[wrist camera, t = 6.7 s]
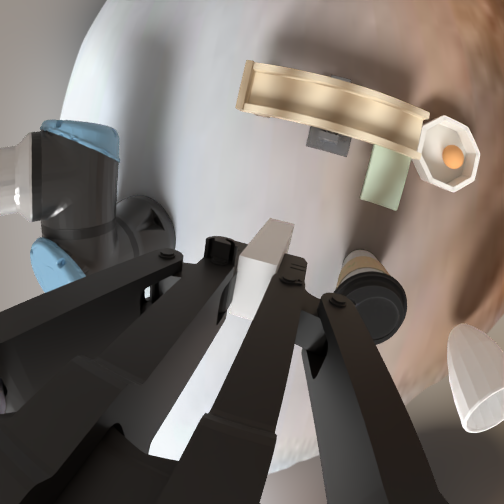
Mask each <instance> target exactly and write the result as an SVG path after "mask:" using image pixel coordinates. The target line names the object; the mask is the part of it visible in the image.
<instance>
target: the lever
mask: <svg viewBox="0 0 504 504" xmlns="http://www.w3.org/2000/svg"><path fill="white" fill-rule="evenodd" d="M235 108H236V109H238V110H240V111H242V112H248V113H253V114H259V115H264V116H269V117H274V118H279V119H284V120H288V121H293V122H297V123H301V124H305V125H309V126H313V127H317V128H321V129H325V130H328V131H332V132H336V133H339V134H342V135H346V136H349V137H352V138H356V139H359V140H362V141H365V142H368V143H371V144H373V148H372V153H371V157H370V161H369V165H368V169H367V172H366V176H365V180H364V184H363V187H362V191H361V194H360V199H362V200H365V201H368V202H371V203H374V204H377V205H380V206H383V207H386V208H389V209H392V210H395V211H397V208H398V205H399V202H400V198H401V195H402V192H403V188H404V185H405V181H406V177H407V173H408V170H409V166H410V162H411V158H412V159H418V160H420V159H421V154H422V153H419V152H417V148H418V144H419V139H420V134H421V129H422V124H423V120H426V119H429V115H430V113H429V112H427V111H425V110H423V109H420V108H418V107H416V106H413V105H411V104H409V103H406V102H404V101H401V100H399V99H396V98H394V97H391V96H388V95H386V94H383V93H380V92H377V91H374V90H371V89H368V88H365V87H362V86H359V85H356V84H353V83H349V82H346V81H342V80H339V79H335V78H331V77H327V76H324V75H319V74H315V73H311V72H306V71H302V70H297V69H292V68H287V67H281V66H275V65H269V64H263V63H256V62H254V61H251V60H246V64H245V68H244V73H243V77H242V81H241V85H240V90H239V94H238V98H237V103H236V107H235Z"/></svg>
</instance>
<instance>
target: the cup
mask: <svg viewBox="0 0 504 504" xmlns="http://www.w3.org/2000/svg"><path fill="white" fill-rule="evenodd" d="M447 360H448V370H449V382H450V385H451V389H452V393H453V397H454V402H455V405H456V408H457V410H458V414H459V416H460V419H461V423H462V426H463V428H464V429H465V430H466V431H467V432H472V433H478V432H482V431H485V430H487V429H490V428H492V427H494V426H496V425H497V424H499V423H500V422H501V421H503V420H504V352H503V351H502V350H501V348H500V347H499V345H498V344H497V343H496V342H495V341H494V340H492V339H491V338H490V337H489V336H488V335H487V334H485V333H484V332H483V331H481V330H479V329H477V328H475V327H473V326H471V325H468V324H465V323H462V324H459V325H457V326H455V327H454V328H453V329H452V330H451V332H450V334H449V337H448V344H447Z"/></svg>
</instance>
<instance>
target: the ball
mask: <svg viewBox="0 0 504 504" xmlns="http://www.w3.org/2000/svg"><path fill="white" fill-rule="evenodd" d="M442 158H443V161H444V163H445V164H446V166H448V167H449V168H451V169H458V168H459V167H461V166H462V164H463V162H464V155H463V152H462V151H461V149H460V148H459V147H457V146H455V145H448V146H446V147H445V148H444V150H443V153H442Z"/></svg>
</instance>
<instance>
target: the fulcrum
mask: <svg viewBox="0 0 504 504" xmlns="http://www.w3.org/2000/svg"><path fill="white" fill-rule="evenodd" d="M331 78H335V79H339V80H342V81H346V82H349V83H351V80H350V79H346V78H342V77H338V76H334V75H332V76H331ZM255 115H257V116H262V117H267V118H270V117H269V116H264V115H259V114H255ZM351 138H352V137H349V136H346V135H342V134H339V133H336V132H332V131H328V130H325V129H321V128H317V127H313V126H311V127H310V132H309V136H308V140H307V144H306V146H308V147H312V148H315V149H319V150H323V151H327V152H330V153H334V154H337V155H341V156H344V157H347V154H348V150H349V146H350V142H351Z"/></svg>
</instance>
